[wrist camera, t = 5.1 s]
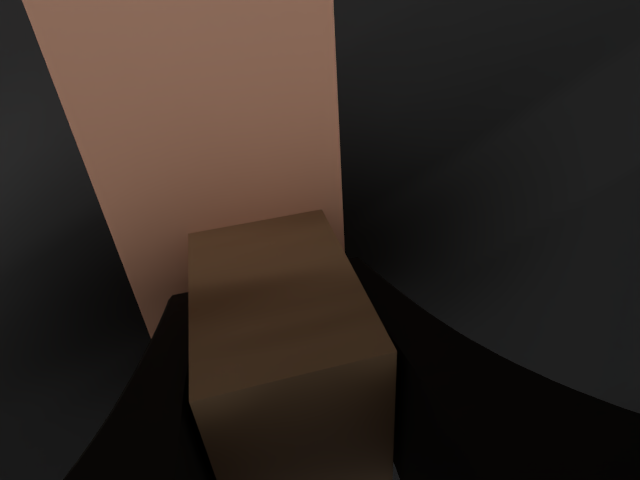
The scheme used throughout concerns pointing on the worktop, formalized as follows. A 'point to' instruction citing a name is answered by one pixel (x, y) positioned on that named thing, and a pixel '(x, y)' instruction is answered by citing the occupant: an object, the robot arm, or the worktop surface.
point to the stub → (234, 218)
